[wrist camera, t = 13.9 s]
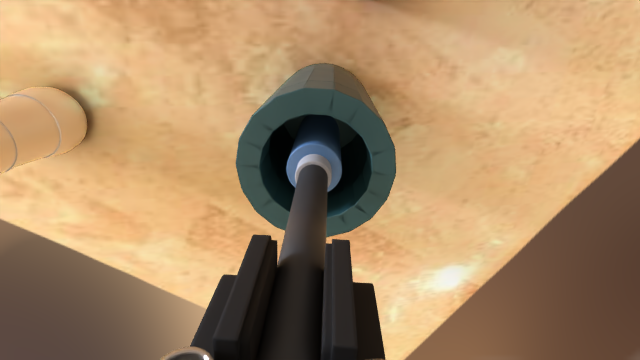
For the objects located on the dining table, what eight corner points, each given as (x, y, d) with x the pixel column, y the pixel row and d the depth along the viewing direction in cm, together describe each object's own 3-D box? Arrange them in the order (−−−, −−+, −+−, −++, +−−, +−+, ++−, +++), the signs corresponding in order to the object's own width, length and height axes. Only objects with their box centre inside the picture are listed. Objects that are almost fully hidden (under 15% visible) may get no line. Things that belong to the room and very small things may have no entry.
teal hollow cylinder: (277, 60, 32) (230, 83, 18) (374, 66, 32) (408, 93, 17) (277, 151, 36) (239, 232, 21) (364, 156, 36) (386, 241, 21)
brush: (299, 111, 26) (183, 388, 6) (340, 113, 26) (371, 400, 6) (298, 150, 27) (202, 489, 7) (337, 152, 27) (354, 499, 7)
